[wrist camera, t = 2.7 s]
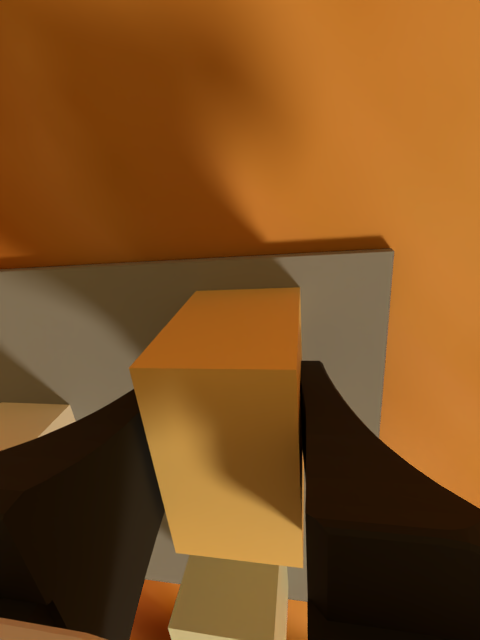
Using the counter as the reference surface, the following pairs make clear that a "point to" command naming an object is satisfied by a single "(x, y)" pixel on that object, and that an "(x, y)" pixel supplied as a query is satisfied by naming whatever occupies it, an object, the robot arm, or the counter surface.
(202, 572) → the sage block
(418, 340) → the counter surface
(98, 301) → the rubber mat
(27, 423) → the cream block
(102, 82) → the counter surface
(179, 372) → the mustard block
